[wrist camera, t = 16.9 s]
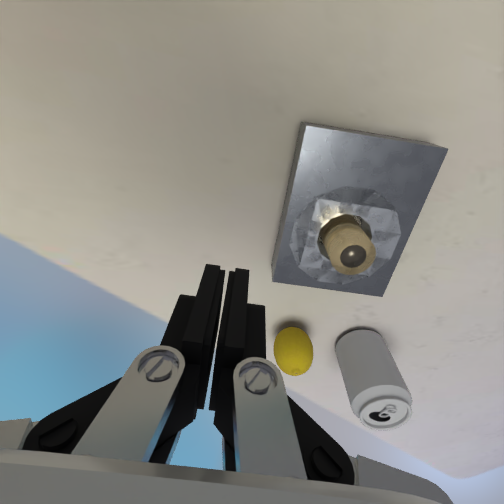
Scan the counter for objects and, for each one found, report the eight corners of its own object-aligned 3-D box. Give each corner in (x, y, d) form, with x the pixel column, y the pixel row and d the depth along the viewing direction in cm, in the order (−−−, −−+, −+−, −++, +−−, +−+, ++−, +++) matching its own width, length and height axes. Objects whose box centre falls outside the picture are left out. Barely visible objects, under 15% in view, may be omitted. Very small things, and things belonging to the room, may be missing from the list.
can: (325, 351, 48) (343, 425, 37) (350, 319, 44) (378, 390, 34) (364, 365, 49) (393, 441, 38) (392, 335, 46) (432, 408, 35)
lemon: (277, 345, 47) (280, 390, 40) (268, 319, 45) (270, 362, 38) (311, 339, 46) (321, 383, 39) (305, 312, 44) (313, 355, 37)
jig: (301, 121, 32) (306, 125, 28) (428, 142, 32) (448, 148, 29) (271, 264, 40) (272, 281, 37) (371, 279, 41) (382, 296, 37)
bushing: (322, 205, 36) (338, 233, 29) (358, 210, 36) (382, 240, 29) (313, 238, 38) (325, 272, 31) (347, 243, 38) (367, 278, 31)
